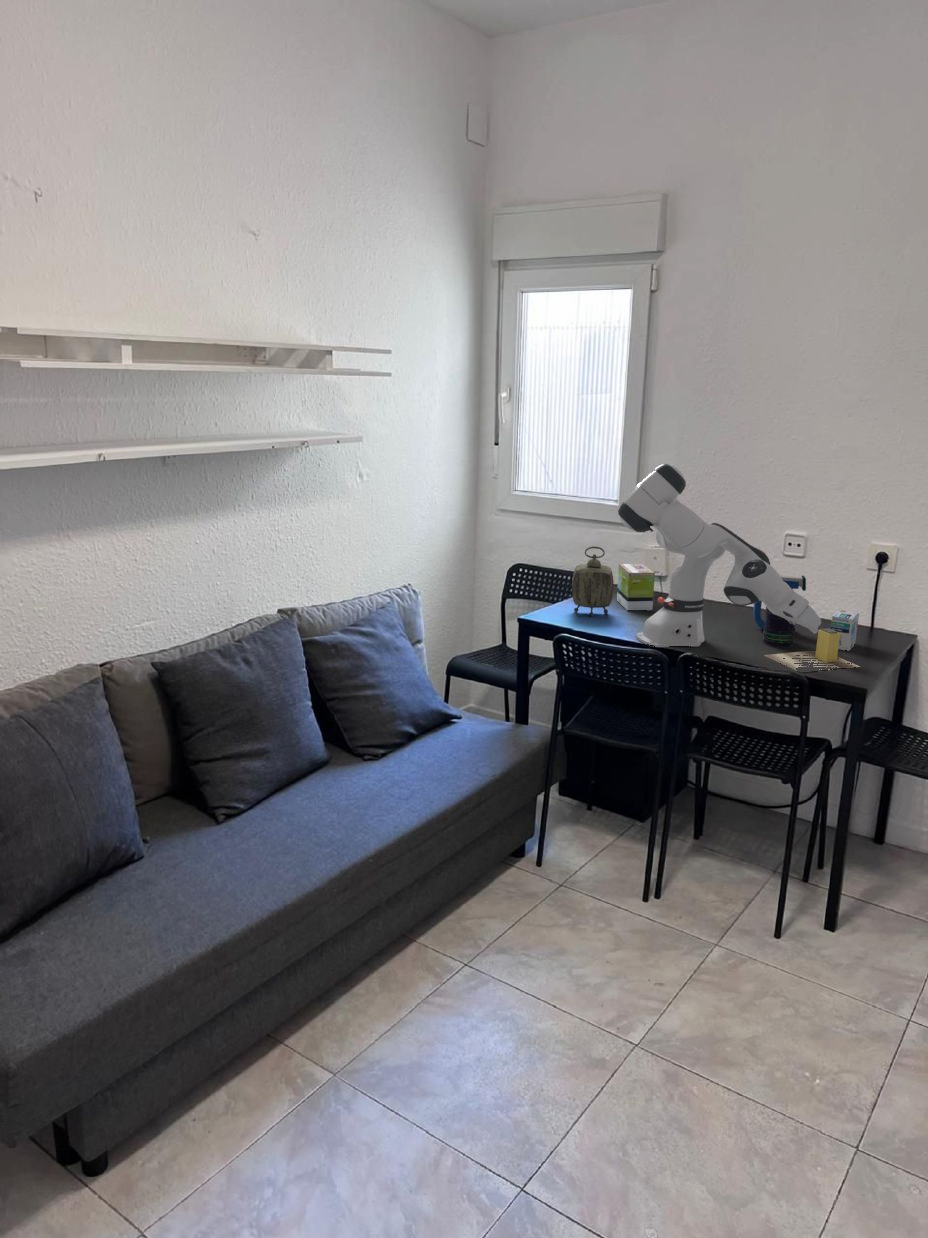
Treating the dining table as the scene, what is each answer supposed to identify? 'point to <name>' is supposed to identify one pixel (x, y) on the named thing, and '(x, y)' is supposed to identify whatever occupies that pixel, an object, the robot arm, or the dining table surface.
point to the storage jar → (778, 631)
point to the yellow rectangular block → (827, 645)
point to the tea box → (635, 586)
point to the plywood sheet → (790, 661)
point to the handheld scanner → (793, 583)
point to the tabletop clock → (592, 584)
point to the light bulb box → (845, 628)
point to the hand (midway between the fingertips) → (804, 627)
